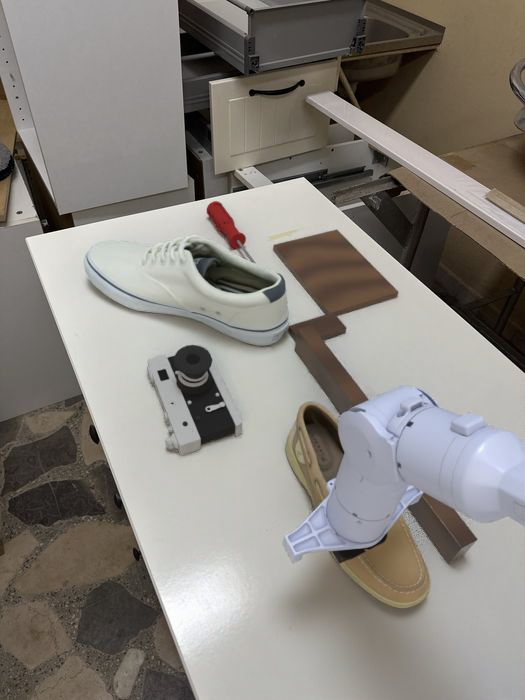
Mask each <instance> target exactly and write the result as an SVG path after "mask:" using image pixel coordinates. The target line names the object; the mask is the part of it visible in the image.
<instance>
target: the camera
mask: <svg viewBox="0 0 525 700" xmlns="http://www.w3.org/2000/svg"><path fill="white" fill-rule="evenodd" d="M146 371H147V376H148V379H149V381H150V383H151V384H153V386H154V389H155V392H156V395H157V397H158V400H159V402H160V405H161V408H162V411H163V413H162V415H163V418H164V421H165V422H167V425H168V427H167V431H168V433H169V434H171V435H168V437H167V438H166V439H165V441H164V442H165V447H166V449H170V450H174V449H175V450H178V453H179V455H180V456H184V455H187V454H190V453H193V452H196V451H199V450H201V449H202V445H204V444H207V443H210V442H213V441H214V442H215V441H216V440H219V439H223V438H225V437H229V436H232V435H234V436H235V437H238V436H240V435H241V434H242V430H243V429H242V428H243V419H242V417H241V415H240V413H239V411H238V409H237V406H236V404H235V403H234V400H233V398H232V396H231V394H230V392H229V390H228V388H227V386H226V384H225V382H224V379H223V378H222V376H221V373H220V371H219V369H218V367H217V365H216V363H215V361H214V359H213V357H212V354H211V352H210V351H209V349H208V347H207V346H204V345H195V344H190V345H185V346H183V347H181V348H179V349H178V350H177V351H176V352H175V355H171V356H167V354H163V355H158V356H154V357H150V358H148V359H147V366H146Z"/></svg>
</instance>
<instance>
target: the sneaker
mask: <svg viewBox="0 0 525 700" xmlns="http://www.w3.org/2000/svg"><path fill="white" fill-rule="evenodd" d="M255 263H256V262H255ZM255 263H253V262H251V261H250V260H248V259H246V258H243V257H241V256H240V255H237V254H235V253H234V252H233V251H231V250H229V249H228V248H227V247H225V246H223V245H222V244H221V243H219V242H217V241H214V240H212V239H207V238H203V237H202V236H201V235H198V234H191V235H187V236H186V237H185V236H178V237H175V238H173V239H169V240H167V241H162V242H161V241H160V242H158V243H156V244H155V245H147V244H143V243H139V242H133V241H126V240H125V241H124V240H105V241H100V242H98V243H95V244H94V245H92V246H91V247H90V248H89V249H88V250H87V252H86V253H85V255H84V257H83V266H84V272H85V275H86V276H87V278H88V280H89V281H90V283H92V284H93V286H94V287H95V288H97V290H99V291H100V292H101V293H103V294H104V295H105V296H106V297H108V298H110V299H111V300H113V301H115V302H116V303H118V304H120V305H121V306H124V307H125V308H129V309H131V310H134V311H137V312H145V313H153V314H163V315H169V316H170V315H171V316H178V317H182V318H183V317H184V318H188V319H192V320H194V321H198V322H200V323H202V324H204V325H206V326H208V327H210V328H212V329H214V330H216V331H218V332H220V333H222V334H224V335H226V336H228V337H230V338H233V339H234V340H236V341H239V342H242V343H245V344H248V345H249V344H250V345H252V346H258V347H265V346H270V345H273V344H275V343H277V342H278V341H280V339H281V338H282V337H283V336H284V333H285V332H286V330H287V329H288V327H289V323H290V319H291V318H290V317H291V315H290V310H289V306H288V297H287V287H286V280H285V277H284V276H283V275H282V274H281V273H279V272H277V271H275V270H273V269H271V268H268V267H266V266H264V265H261V264H258V263H256V264H255Z"/></svg>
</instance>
